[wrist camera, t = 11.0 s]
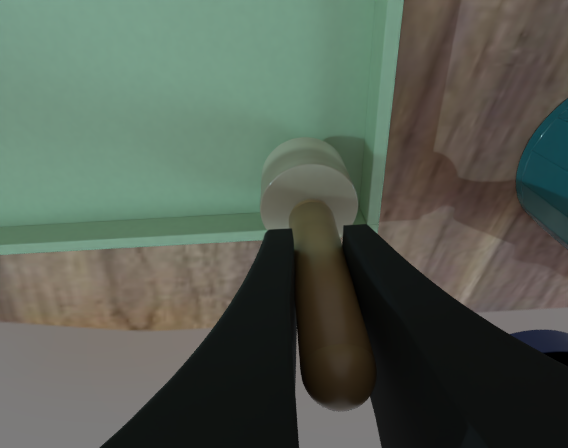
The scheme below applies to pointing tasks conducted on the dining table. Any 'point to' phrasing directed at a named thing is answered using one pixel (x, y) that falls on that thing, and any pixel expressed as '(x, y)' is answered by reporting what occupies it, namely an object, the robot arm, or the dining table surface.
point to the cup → (547, 175)
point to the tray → (181, 113)
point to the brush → (320, 269)
